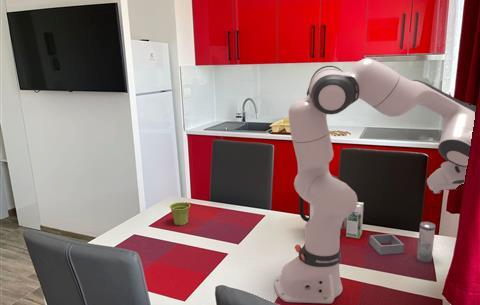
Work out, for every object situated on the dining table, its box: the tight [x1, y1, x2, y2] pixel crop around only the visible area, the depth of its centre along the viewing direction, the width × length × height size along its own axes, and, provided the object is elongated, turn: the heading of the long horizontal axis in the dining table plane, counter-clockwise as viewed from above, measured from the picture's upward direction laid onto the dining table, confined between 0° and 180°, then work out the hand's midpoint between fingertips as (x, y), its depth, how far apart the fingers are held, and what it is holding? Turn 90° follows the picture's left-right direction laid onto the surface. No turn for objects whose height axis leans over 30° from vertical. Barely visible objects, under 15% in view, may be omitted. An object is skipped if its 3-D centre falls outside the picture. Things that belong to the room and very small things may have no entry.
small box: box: [341, 218, 347, 230], centre depth 171 cm, size 5×4×8 cm
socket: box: [368, 233, 406, 256], centre depth 151 cm, size 10×10×4 cm
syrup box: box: [345, 201, 364, 239], centre depth 162 cm, size 6×6×14 cm
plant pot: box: [169, 201, 191, 226], centre depth 178 cm, size 9×9×9 cm
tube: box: [416, 221, 437, 263], centre depth 141 cm, size 5×5×14 cm
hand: (448, 190), depth 123 cm, fingers open, 8 cm apart
